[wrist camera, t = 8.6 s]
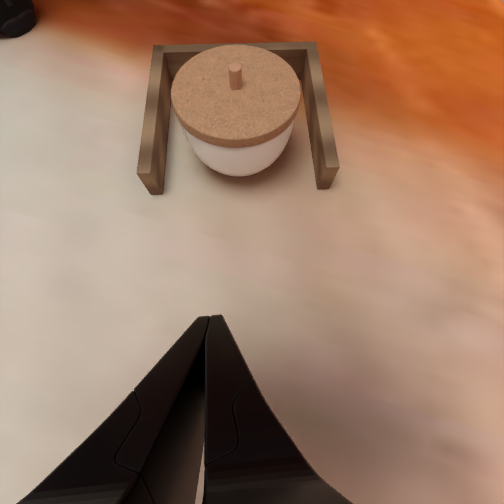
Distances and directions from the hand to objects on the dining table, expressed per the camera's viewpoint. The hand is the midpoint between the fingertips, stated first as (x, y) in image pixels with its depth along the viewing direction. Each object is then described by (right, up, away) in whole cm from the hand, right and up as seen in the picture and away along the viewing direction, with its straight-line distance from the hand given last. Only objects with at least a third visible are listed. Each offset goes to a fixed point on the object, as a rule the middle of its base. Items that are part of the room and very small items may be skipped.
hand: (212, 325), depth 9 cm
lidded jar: (0, +13, +19) cm, 24 cm away
